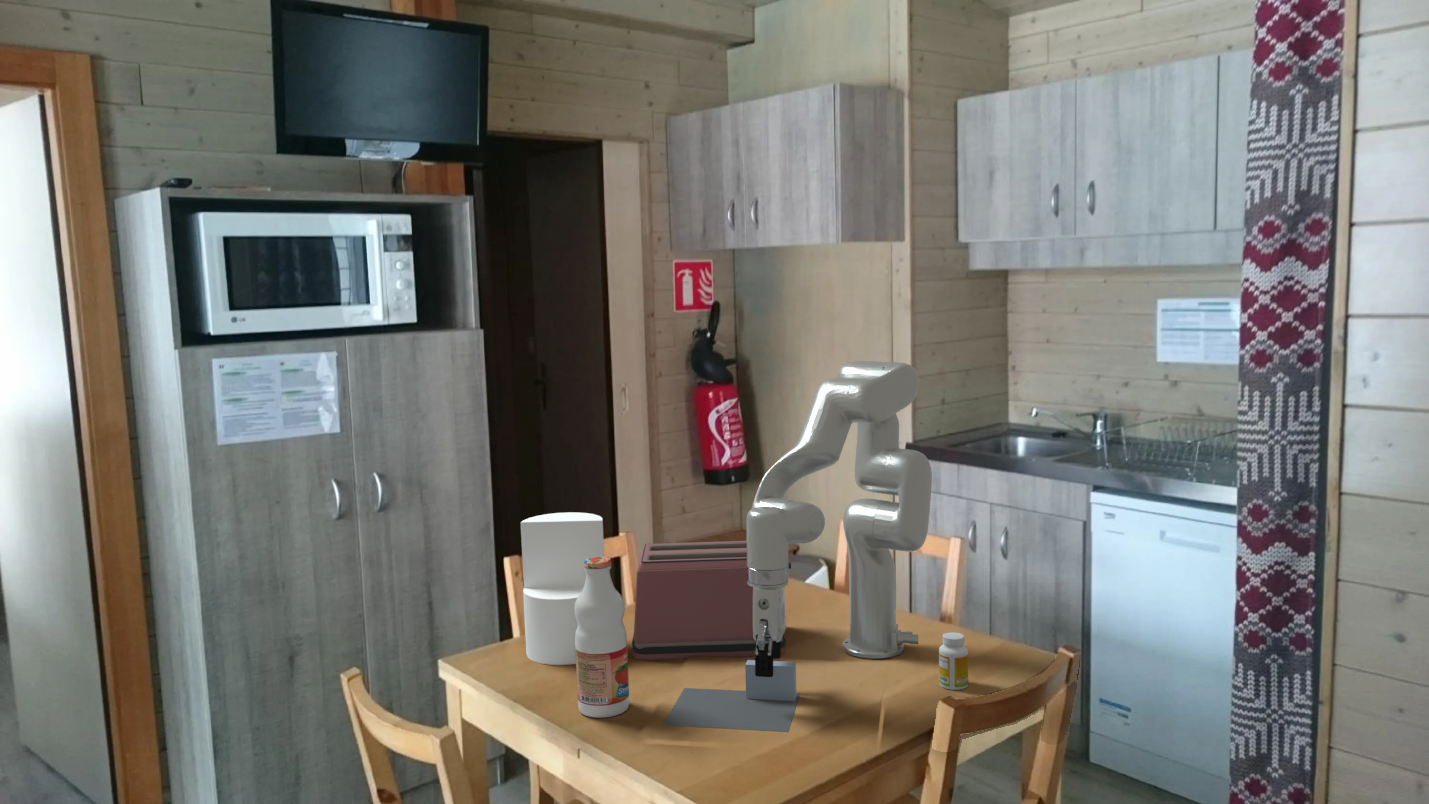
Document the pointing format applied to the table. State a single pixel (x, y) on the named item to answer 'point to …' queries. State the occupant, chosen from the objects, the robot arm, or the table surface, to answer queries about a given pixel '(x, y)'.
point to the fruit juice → (601, 644)
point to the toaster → (694, 601)
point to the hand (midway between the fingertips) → (768, 666)
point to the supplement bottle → (953, 662)
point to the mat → (730, 711)
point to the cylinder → (556, 580)
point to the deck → (772, 682)
